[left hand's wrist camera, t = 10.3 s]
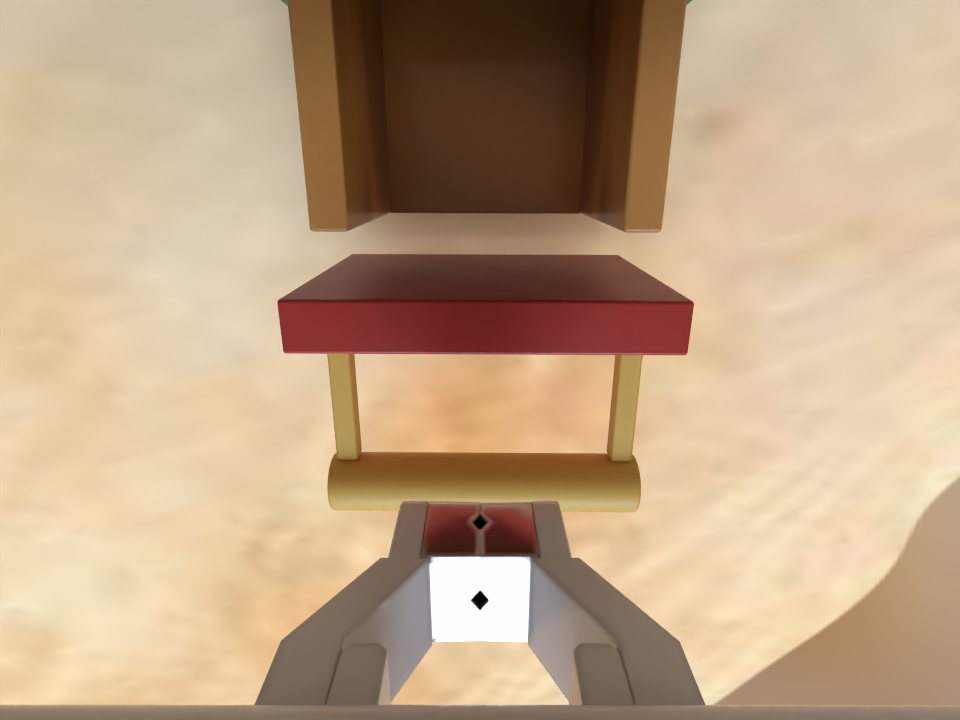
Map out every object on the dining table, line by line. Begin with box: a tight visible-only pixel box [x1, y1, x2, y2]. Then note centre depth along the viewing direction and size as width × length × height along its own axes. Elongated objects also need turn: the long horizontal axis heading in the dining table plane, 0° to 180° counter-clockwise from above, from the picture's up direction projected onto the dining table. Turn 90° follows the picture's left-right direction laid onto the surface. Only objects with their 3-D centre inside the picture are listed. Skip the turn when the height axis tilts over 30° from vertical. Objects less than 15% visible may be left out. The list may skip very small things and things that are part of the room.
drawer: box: [278, 0, 694, 512], centre depth 14 cm, size 19×9×7 cm, turn 0°
